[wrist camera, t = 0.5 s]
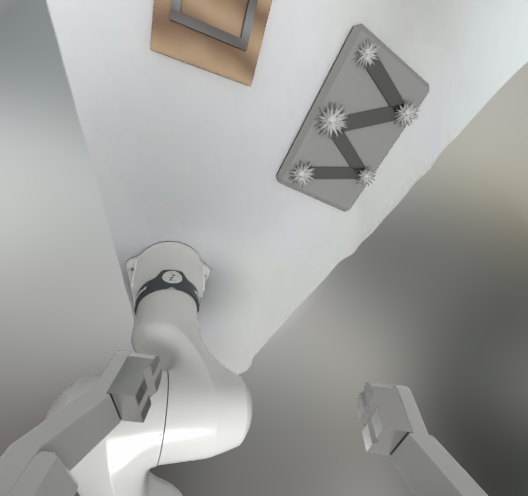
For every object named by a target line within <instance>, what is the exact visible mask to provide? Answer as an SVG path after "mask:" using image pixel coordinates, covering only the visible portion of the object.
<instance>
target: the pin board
mask: <svg viewBox="0 0 528 496" xmlns="http://www.w3.org/2000/svg"><path fill="white" fill-rule="evenodd" d="M271 2H272V0H154V10H153V23H152V35H151V47H150V49H151V50H154V51H156V52H159V53H162V54H164V55H167V56H170V57H173V58H175V59H178V60H181V61H183V62H186V63H189V64H192V65H194V66H197V67H200V68H202V69H205V70H208V71H211V72H213V73H216V74H219V75H221V76H224V77H227V78H230V79H232V80H235V81H238V82H241V83H243V84H246V85H249V86H251V84H252V80H253V76H254V72H255V68H256V63H257V59H258V55H259V51H260V47H261V43H262V39H263V35H264V31H265V27H266V23H267V19H268V15H269V11H270V6H271Z"/></svg>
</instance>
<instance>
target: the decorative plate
mask: <svg viewBox="0 0 528 496" xmlns="http://www.w3.org/2000/svg"><path fill="white" fill-rule="evenodd" d="M428 93H429V84H428V83H427V82H426V81H424V80H423V79H422V78H421V77H420V76H419V75H418V74H417V73H416V72H415V71H413V70H412V69H411V68H410V67H409V66H408V65H407V64H406V63H405V62H404V61H402V60H401V59H400V58H399V57H398V56H397V55H396V54H395V53H394V52H392V51H391V50H390V49H389V48H388V47H387V46H386V45H385V44H384V43H383V42H381V41H380V40H379V39H378V38H377V37H376V36H375V35H374V34H373V33H372V32H370V31H369V30H368V29H367V28H366V27H365V26H364V25H363V24H360V25H357V26H354V27H353V29H352V31H351V33H350V34H349V36H348V38H347V40H346V42H345V44H344V46H343V48H342V50H341V52H340V54H339V56H338V58H337V60H336V62H335V64H334V66H333V68H332V69H331V71H330V73H329V75H328V77H327V79H326V81H325V83H324V85H323V87H322V89H321V91H320V93H319V95H318V97H317V99H316V101H315V103H314V104H313V106H312V108H311V110H310V112H309V114H308V116H307V118H306V120H305V122H304V124H303V126H302V128H301V130H300V132H299V134H298V136H297V138H296V139H295V141H294V143H293V145H292V147H291V149H290V151H289V153H288V155H287V157H286V159H285V161H284V163H283V165H282V167H281V169H280V171H279V173H278V175H277V178H278V182H279V183H281V184H284V185H286V186H288V187H290V188H293V189H295V190H297V191H299V192H302V193H304V194H306V195H308V196H311V197H313V198H315V199H317V200H320V201H322V202H324V203H326V204H329V205H331V206H333V207H335V208H338V209H340V210H342V211H344V212H345V211H347V210H350V209H351V207H352V206H353V204H354V203H355V201H356V200H357V198H358V197H359V195H360V194H361V192H362V191H363V189H364V188H365V186H366V185H367V184H368V185H369V182H370V183H371V182H372V181H371V180H375V179H373V178H371V177H374V176H376V175H373V174H375V173H376V172H375V171H376V170H377V168H378V167H379V165H380V164H381V162H382V161H383V159H384V158H385V157H386V155H387V154H388V152H389V151H390V149H391V148H392V146H393V145H394V143H395V142H396V140H397V139H398V137H399V136H400V134H401V133H402V131H403V130H404V128H405V127H406V125H407V124H408V125H409V123H410V121H411V122H412V120H411V119H414V118H416V117H418V116H416V115H417V114H414V113H415V112H418V111H416V110H418V108H419V106H420V104H421V103H422V101H423V100H424V98H425V97H426V95H427V94H428ZM420 111H421V110H420ZM414 116H416V117H414ZM416 119H417V118H416ZM414 120H415V119H414ZM412 123H413V122H412ZM410 124H411V123H410ZM409 126H410V125H409ZM372 183H373V182H372Z"/></svg>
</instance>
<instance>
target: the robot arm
mask: <svg viewBox="0 0 528 496" xmlns="http://www.w3.org/2000/svg"><path fill="white" fill-rule="evenodd" d="M126 268H127V273H128V278H129V283H130V288H131V292H132V297H133V302H134V307H135V314H136V317H135V322H134V327H133V332H132V337H131V342H132V346H133V349H134V351H135V352H128V351H120V350H119V351H118V352H117V353H116V354H115V355H114V357H113V358H112V360H111V361H110V363H109V364H108V366H107V367H106V369H105V370H104V372H103V374H100V375H95V376H91V377H86V378H82V379H78V380H76V381H75V382H73V383H72V384H71V385H69V386H68V387H67V388H66V389H65V390H64V391H63V392H62V393H61V394H60V396H59V397H58V398H57V399H56V401H55V402H54V404H53V405H52V407H51V408H50V410H49V412H48V414H47V416H46V419H45V421H44V422H42V423H41V424H39V425H38V426H37V427H36V428H34V429H32V430H31V431H30V432H28V433H27V434H25V435H24V436H22V437H21V438H19V439H18V440H17V441H15V442H14V443H12V444H11V445H10V446H9V447H8V449H7V450H6V451H5V452H4V454H3V455H2V457H1V458H0V496H74V495H75V493H76V491H77V492H78V493H79V495H80V496H182V494H181V493H180V492H179V490H178V489H177V488H176V487H174V486H173V485H172V484H170V483H169V482H167V481H164V480H162V479H160V478H158V477H156V476H154V475H153V474H151V472H150V471H149V469H150V468H152V467H156V465H163V464H170V463H177V462H184V461H190V460H198V459H205V458H209V457H212V456H215V455H217V454H220V453H223V452H225V451H228V450H230V449H232V448H235V447H237V446H239V445H240V444H241V443H242V441H243V440H244V438H245V436H246V434H247V432H248V430H249V427H250V423H251V419H252V400H251V395H250V392H249V390H248V387H247V385H246V384H245V382H244V380H243V379H242V378H241V377H240V376H239V375H238V374H236V373H234V372H232V371H230V370H229V369H227V368H226V367H225V366H223V365H222V364H221V363H220V362H219V361H218V360H217V359H216V358H215V357H214V356H213V355H212V354H211V353H210V351H209V350H208V349H207V347H206V346H205V344H204V342H203V340H202V338H201V335H200V330H199V324H198V316H197V314H198V311H199V305H200V299H199V298H202V297H203V291H204V290H205V283H206V281H207V279H208V277H209V275H210V271H211V270H210V268H209V267H208V266H207V265H206V264H204V263H203V262H202V261H201V259H200V257H199V255H198V254H197V253H196V252H195V251H194V250H193V249H192V248H190V247H189V246H187V245H184V244H181V243H177V242H162V243H158V244H155V245H152V246H151V247H149V248H147V249H146V250H145V251H144V252H143V253H142V254H140V255H139V256H137V257H134V258H131V259H129V260H128V261H127V262H126ZM131 268H134V269H131ZM204 274H205V275H204ZM364 390H365V391H364V392H362V393H360V395H359V397H358V414H359V418H360V420H361V421H362V422H363V424H364V425H365V427H364V429H363V432H362V433H363V438H364V442H365V446H366V451H367V452H369V453H376V454H382V455H388V456H390V458H391V460H392V461H393V463H394V464H395V466H396V467H397V469H398V470H399V472H400V474H401V475H402V476H403V478H404V480H405V481H406V483H407V484H408V485H409V487H410V488H411V490H412V491H413V493H414V495H415V496H488V495H487V494H486V493H485V492H484V491H483V490H482V489H481V487H479V485H478V484H477V483H476V482H475V481H474V480H473V479H472V478H471V477H470V476H469V475H468V474H467V472H466V471H465V470H464V469H463V468H462V467H461V466H460V465H459V464H458V463H457V462H456V460H455V459H454V458H453V457H452V456H451V455H450V454H449V453H448V452H447V451H446V450H445V449H444V448H443V446H442V445H441V444H440V443H439V442H438V441H437V440H436V439H435V438H434V437H433V436H430V435H428V432H427V430H426V427H425V425H424V422H423V420H422V417H421V415H420V412H419V410H418V407H417V405H416V402H415V400H414V398H413V395H412V393H411V391H410V389H409V388H408V387H406V386H399V385H392V384H383V383H374V382H367V383H365V385H364Z"/></svg>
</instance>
